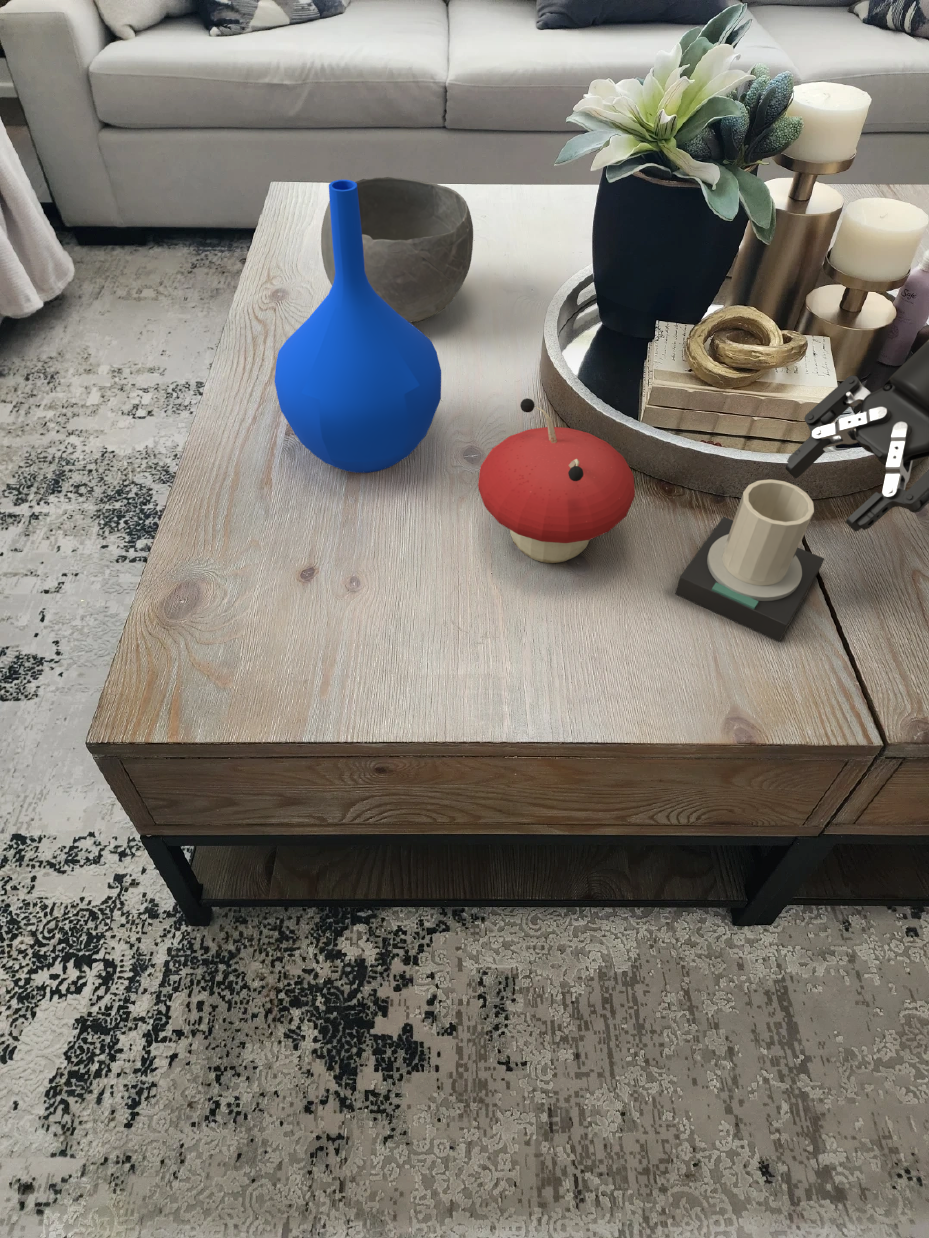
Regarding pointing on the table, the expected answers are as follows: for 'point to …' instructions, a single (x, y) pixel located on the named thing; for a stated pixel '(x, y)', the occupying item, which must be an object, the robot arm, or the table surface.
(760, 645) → the table surface
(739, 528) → the beige cup
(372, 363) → the vase
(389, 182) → the bowl
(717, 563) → the kitchen scale
